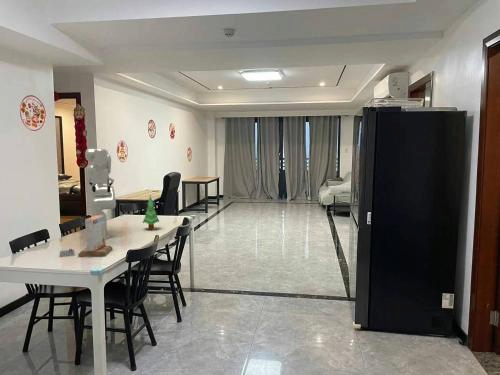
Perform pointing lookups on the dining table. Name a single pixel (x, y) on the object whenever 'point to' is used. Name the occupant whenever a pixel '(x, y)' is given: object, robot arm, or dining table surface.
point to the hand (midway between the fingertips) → (101, 192)
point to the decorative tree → (150, 215)
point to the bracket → (67, 253)
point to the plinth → (96, 252)
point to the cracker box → (95, 232)
